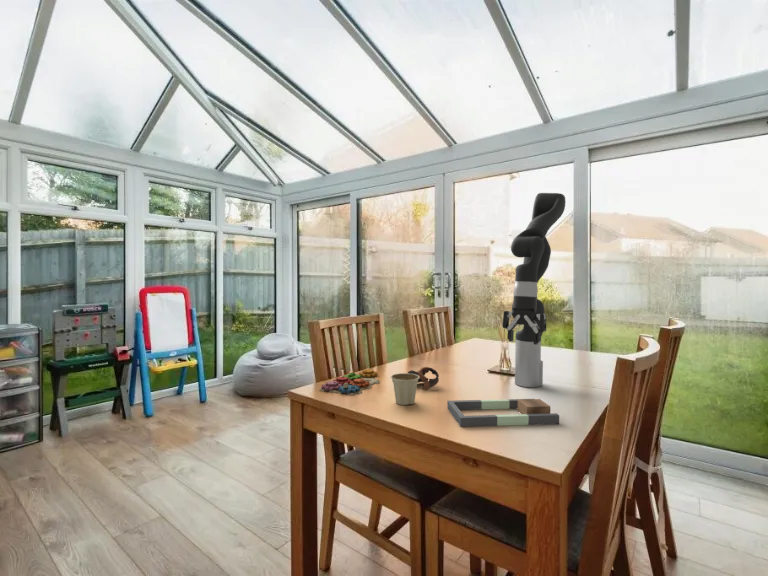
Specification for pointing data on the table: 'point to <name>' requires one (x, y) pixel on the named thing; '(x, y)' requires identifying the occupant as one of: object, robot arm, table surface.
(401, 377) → the flower pot
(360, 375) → the gear puzzle
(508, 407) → the box
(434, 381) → the brown ring toy
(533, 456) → the table surface
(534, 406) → the walnut block
